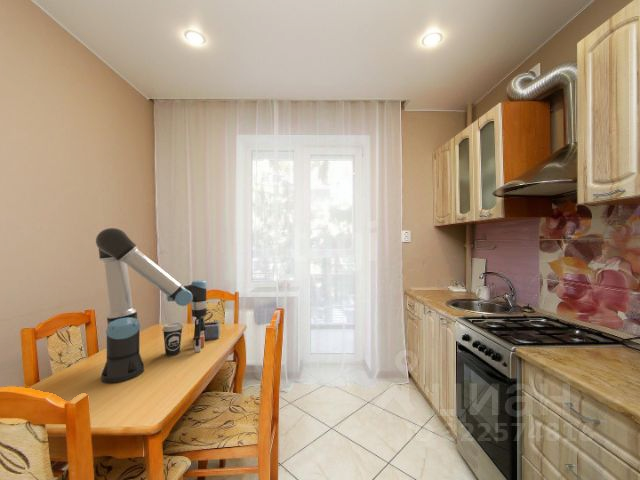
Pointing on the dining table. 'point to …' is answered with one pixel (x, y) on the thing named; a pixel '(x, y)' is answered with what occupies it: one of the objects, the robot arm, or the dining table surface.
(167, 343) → the coffee cup
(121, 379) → the robot arm
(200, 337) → the salmon pink eraser
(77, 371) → the dining table surface
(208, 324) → the coin box
